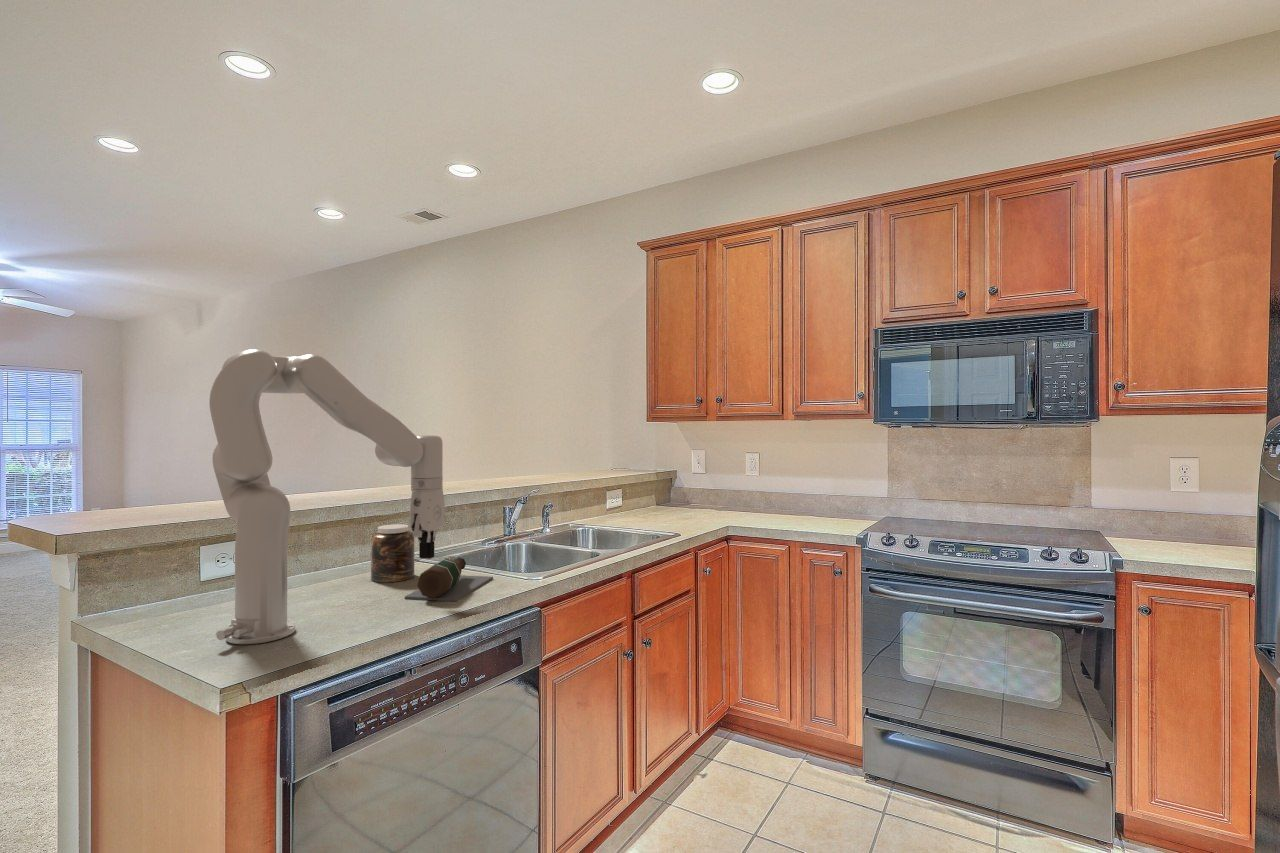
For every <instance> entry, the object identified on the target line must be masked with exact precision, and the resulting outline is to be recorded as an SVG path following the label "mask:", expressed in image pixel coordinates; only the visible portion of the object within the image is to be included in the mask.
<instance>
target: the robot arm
mask: <svg viewBox="0 0 1280 853" xmlns="http://www.w3.org/2000/svg"><path fill="white" fill-rule="evenodd" d="M209 393H210V394H209V412H210V418H211V421H212V424H213V429H214V434H215V438H216V440H217V444H216V446H215V448H214V450H213V452H212V466H213V469H214V474H215V477H216V481H217V484H218V488H219V490H220V494H221V498H222V501H223V505H224V507H225V510H226V513H227V514H228V516H229V517H230V518H231V519H232V520H233V521H234V522H235V523H236V534H235V542H234V618H232V619H231V620H230V622H231V624H230V625H229V626H228V627H224V628H223V629H220V630H217V632H216V635H215V636H216V638H217V640H219V641H223V640H225V641H226V642H228V643H230V644H235V645H256V644H263V643H269V642H273V641H276V640H280V639H284V638H287V637H289V636H290V635H292V634H294V632H295V631H296V624H295V623H294V622H293V621H288V543H289V542H288V540H289V539H288V538H289V536H288V535H289V529H290V522H291V506H290V501H289V499H288V497H287V495H285V494H286V493H284V492H283V491H282V490H280V489H279V488H277V487H275V486H272V484H271V482H270V478H269V475H268V473H269V471H270V470H271V467H272V465H273V453H272V450H271V448H270V445H269V442H268V441H269V440H268V438H267V435H266V432H265V428H264V424H263V420H262V415H261V411H260V398H261V396H262V394H263V393H264V394H265V393H266V394H304V395H306V396H307V397H308V398H309V399H310V400H311V401H312V402H314V403H315V404H316V405H317V406H318V407H320V408H321V409H322V410H323V411H324V412H325V413H326V414H327V415H329V416H330V417H331V418H332V419H333V421H335V422H336V423H337V424H339V425H341V426H343V427H344V428H346V429H348V430H351V431H353V432H356V433H357V434H358V433H359V434H361V435H362V436H365V437H366V438H367V439H369V440H371V441H372V442H373V443H375V447H374V452H375V456H376V458H377V459H378V460H379V461H380V462H381V463H383V464H385V465H387V466H393V467H403V468H410V490H411V496H410V497H411V498H410V504H409V506H410V509H409V527H410V530H411V532H413V533H414V538H417V540H418V541H417V542H418V543H419V547H418V548H419V549H418V550H419V551H418V552H419V555H418V556H419V558H420V559H432V558H434V557H435V541H436V535H437V532H439V530H440V529H441V528H443V527H444V526H445V525H446V506H445V496H444V491H443V456H444V455H443V452H444V451H443V439H442V437H441V436H439V435H416V434H415V433H413V432H412V430H410V429H409V427H407V426H406V425H405V424H404V423H403V422H402V421H400V420H399V419H398V418H397V417H396V416H394V415H393V414H392V413H390V412H388V411H387V410H386V409H384V408H383V407H382V406H380V405H379V404H377V403H376V402H374V401H373V400H372V399H370V398H368V397H367V396H366V395H365V394H364V393H363V392H361V391H360V390H359V388H357V387H356V386H355V385H354V384H353V383H352V382H351V381H350V380H349V379H347V377H346V376H345V375H343V374H342V372H340V371H339V370H338V369H337V368H336V367H335V366H334V365H333V364H332V363H330V362H329V361H328V360H327V359H326V358H324V357H323V356H321V355H319V354H314V353H313V354H311V353H309V354H304V355H300V356H278V355H277V356H276V355H274V356H273V355H271V354H269V352H267V351H264V350H261V349H256V348H255V349H254V348H253V349H246V350H243V351H240V352H238V353H235V354H232V355H231V356H230V357H228V358H227V359H226V360H225V361H224V362H223V364H222V367H221V370H220V372H219V373H218V375H217V376H216V378H215V379H214V382H213V383H212V387H211V390H210V392H209Z"/></svg>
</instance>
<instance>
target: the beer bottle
mask: <svg viewBox="0 0 1280 853" xmlns="http://www.w3.org/2000/svg"><path fill="white" fill-rule="evenodd" d="M466 565H467V562H466V560H465V559H464V558H462V557H457V558H455V559H454V560H453V559H450V558H445V559H442V560H441V561H439V562H437V563H435V564H433V565H432V566H430V567H429V568H427V569H426V570H424V571H423V572H421V573H420V575H419V578H418V582H417V588H418V589H419V590H420V592H421V593H422V595H423V596H426V597H429V598H432V599H434V598H436V597H438V596H440V595H442V594H444V593H445V592H447V591H448V590H449V589H450V588H452V587H453V586H454V585H455V584H456V583H457V582H458V581H459V578H460V575H461V574H462V570H464V569H465V567H466Z"/></svg>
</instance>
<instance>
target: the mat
mask: <svg viewBox="0 0 1280 853" xmlns="http://www.w3.org/2000/svg"><path fill="white" fill-rule="evenodd" d="M493 579H494V577H493V576H489V575H488V576H484V575H482V576H481V575H465V574H464V575H460V578H459V581H458V582H457V583H456V584H455V585H454V586H453V587H452V588H450V589H449V590H448V591H447V592H445V593H444V594H442V595H440V596H438V597H436V598H434V599H432V598H429V597H426V596H423V595H422V593H421V592H420V590H419V588H418V589H417V590H414V591H412V592H411V593H408V594H407V595H405V596H404V600H421V601H438V602H439V601H440V602H442V601H443V602H457V601H460V600H461V599H462V598H464V597H465V596H467V595H469V594H471V593H472V592H473V591H476V590H477V589H479V588H480V587H482V586H483V585H485V584H487V583H489V582H490V581H491V580H493Z"/></svg>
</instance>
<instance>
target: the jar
mask: <svg viewBox="0 0 1280 853" xmlns="http://www.w3.org/2000/svg"><path fill="white" fill-rule="evenodd" d="M370 551H371V552H370V580H371V581H372V582H375V583H381V584H383V583H386V584H387V583H397V582H404V581H407V580H411V579H412V578H414V577H415V537H414V531H412V530H411V531H410V530H409V525H408V524H400V523H399V524H398V523H394V524H384V525H379V526H378V527H377V532H376V533H374V534H372V536H371V544H370Z"/></svg>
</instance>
